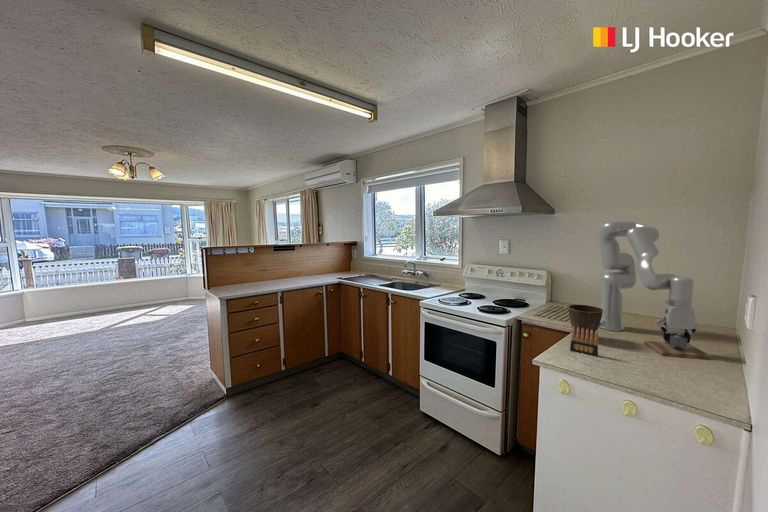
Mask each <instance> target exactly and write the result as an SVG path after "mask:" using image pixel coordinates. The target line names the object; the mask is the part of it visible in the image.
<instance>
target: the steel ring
mask: <svg viewBox="0 0 768 512" xmlns="http://www.w3.org/2000/svg"><path fill="white" fill-rule="evenodd" d="M669 333H670V342H667V341H665V340H664V342H666V343H667V344H669V345H673V346H677V347H687V346H688V344H689V343H688V337H686V336H684V335H683V334H681V333H676V332H669ZM674 336H679V337H681V338H678V337H674Z"/></svg>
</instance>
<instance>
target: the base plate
mask: <svg viewBox="0 0 768 512" xmlns="http://www.w3.org/2000/svg"><path fill="white" fill-rule="evenodd" d="M643 344H644V345H645V346H646V347H648V348H650V349H652V350H653V351H654V352H656V353H657V354H659V355H660V356H662V357H673V358H674V357H675V358H687V359H688V358H689V359H702V360H712V357H713V356H712V355H711V354H708V353H707V352H705V351H703V350H702V349H700V348H697V347H695V346H694V345H691V344H690V343H688V346H687V347H681V349H680V350H678V349H673V348H671V345H669V344H667V343H666V342H665V341H654V340H653V341H652V340H651V341H650V340H644V341H643Z"/></svg>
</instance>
